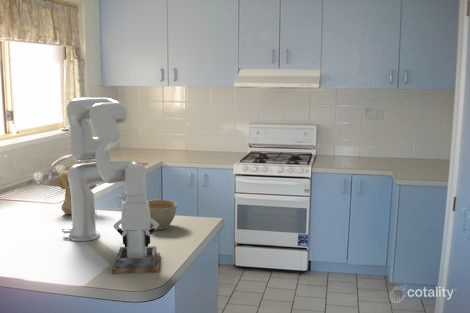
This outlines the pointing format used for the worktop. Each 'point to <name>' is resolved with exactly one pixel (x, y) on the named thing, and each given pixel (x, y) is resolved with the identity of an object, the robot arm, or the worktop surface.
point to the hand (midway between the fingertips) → (136, 245)
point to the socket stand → (136, 262)
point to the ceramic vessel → (67, 191)
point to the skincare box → (136, 244)
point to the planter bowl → (162, 212)
